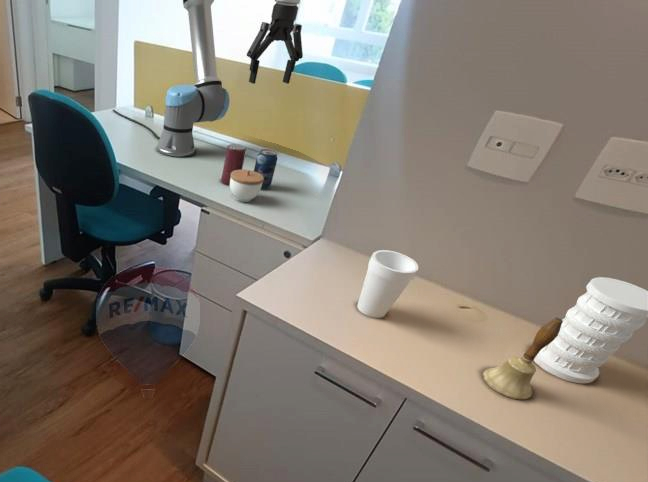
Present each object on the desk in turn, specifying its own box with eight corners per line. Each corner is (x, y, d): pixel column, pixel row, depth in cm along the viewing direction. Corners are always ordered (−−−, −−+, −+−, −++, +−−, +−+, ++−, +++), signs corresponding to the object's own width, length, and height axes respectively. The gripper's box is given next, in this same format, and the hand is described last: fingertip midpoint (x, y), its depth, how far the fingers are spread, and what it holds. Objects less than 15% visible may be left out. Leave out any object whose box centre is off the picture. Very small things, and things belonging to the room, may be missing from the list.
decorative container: (609, 383, 89) (685, 312, 78) (558, 383, 88) (627, 312, 77) (564, 345, 98) (626, 276, 87) (516, 345, 97) (573, 275, 85)
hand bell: (487, 391, 85) (540, 327, 75) (479, 364, 91) (527, 301, 81) (536, 405, 83) (597, 341, 73) (524, 376, 89) (579, 313, 79)
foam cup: (345, 296, 107) (366, 248, 99) (383, 299, 107) (407, 251, 99) (358, 320, 100) (382, 271, 92) (398, 323, 100) (426, 274, 92)
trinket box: (258, 207, 144) (265, 178, 138) (225, 202, 145) (231, 173, 139) (258, 194, 152) (265, 167, 146) (227, 189, 154) (232, 162, 148)
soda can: (255, 190, 155) (264, 155, 147) (247, 183, 160) (254, 148, 152) (273, 190, 157) (282, 155, 149) (264, 182, 162) (272, 148, 154)
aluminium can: (217, 179, 160) (223, 144, 152) (233, 178, 163) (240, 143, 155) (226, 186, 156) (233, 150, 148) (242, 185, 158) (250, 149, 150)
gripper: (258, 3, 128) (243, 85, 142) (327, 7, 136) (305, 85, 150) (245, 0, 133) (231, 80, 147) (311, 5, 142) (292, 80, 155)
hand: (269, 82), depth 149 cm, fingers open, 13 cm apart
